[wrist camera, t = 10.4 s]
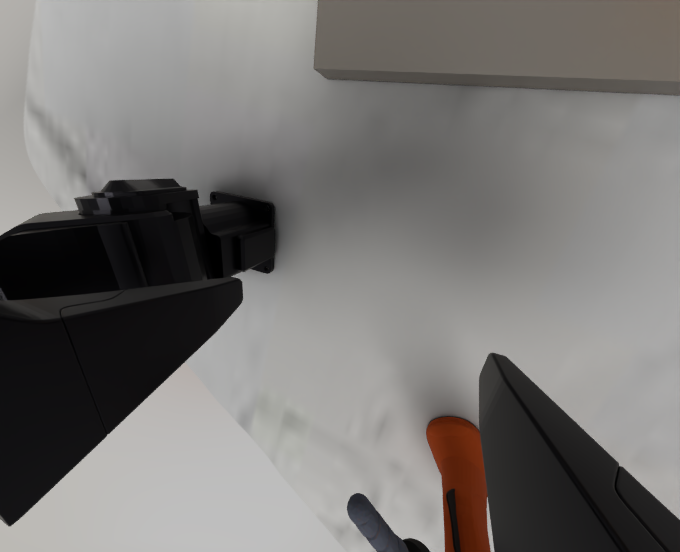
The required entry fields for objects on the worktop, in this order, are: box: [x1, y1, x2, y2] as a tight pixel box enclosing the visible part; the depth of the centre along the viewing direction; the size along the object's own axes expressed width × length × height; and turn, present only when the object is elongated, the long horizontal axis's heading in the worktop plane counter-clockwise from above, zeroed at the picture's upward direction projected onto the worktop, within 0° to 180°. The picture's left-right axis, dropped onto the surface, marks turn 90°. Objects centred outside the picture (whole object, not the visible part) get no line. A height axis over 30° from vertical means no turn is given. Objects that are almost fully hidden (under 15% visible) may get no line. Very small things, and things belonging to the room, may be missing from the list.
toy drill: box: [347, 417, 491, 552], centre depth 17 cm, size 5×19×15 cm, turn 28°
